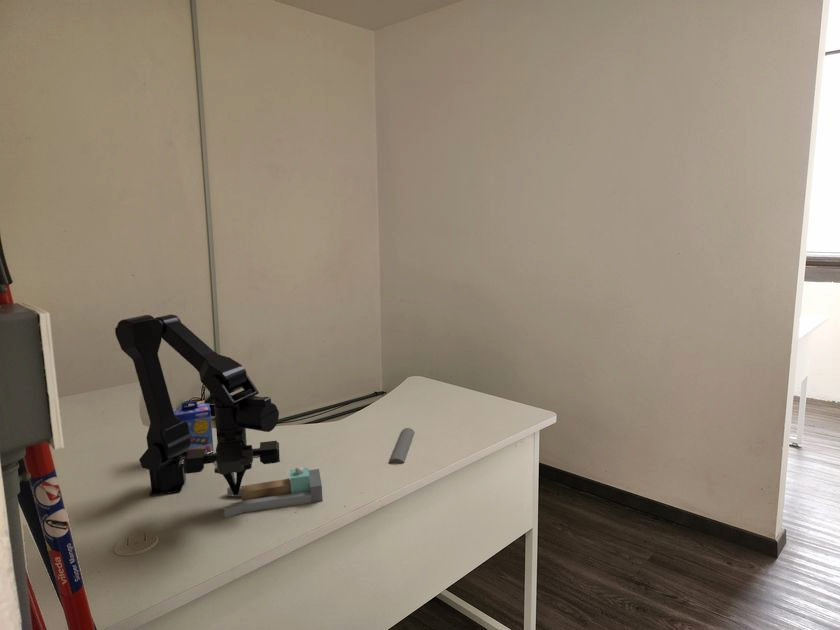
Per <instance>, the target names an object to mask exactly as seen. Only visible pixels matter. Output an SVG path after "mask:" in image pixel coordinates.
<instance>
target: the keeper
mask: <svg viewBox="0 0 840 630" xmlns="http://www.w3.org/2000/svg"><path fill="white" fill-rule="evenodd" d="M309 470H310V469H309V467H303V466H298V467H296V468H293V469H289V476H290V477H289V478H290V483H291V494H293V493H300V492H307V491H310V479H309Z"/></svg>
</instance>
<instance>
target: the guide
mask: <svg viewBox="0 0 840 630" xmlns="http://www.w3.org/2000/svg"><path fill="white" fill-rule="evenodd" d="M309 479H310V491H307V492H300V493H293V494H286V495H279V496H272V497H265V498H258V499H251V500H244V501H242V500H241V501H238V502H236V503H233V504H229V505H225V506H224V507H223V513H224V517H225V519H227V518H230V517H233V516H236V515H239V514H242V513H248V512H254V511H261V510H269V509H275V508H282V507H288V506H295V505H303V504H308V503H315V502H316V501H317V502H322V501H323V485H322V484H323V483H322V479H321V472H320V468H315V469H309ZM290 484H291V483H290ZM242 486H243V485H240V489H239V493H238V495H234V494H233V492H232V490H231V488H230V486H229V485H228V487H227V496H228V495H233V496H232V497H242Z"/></svg>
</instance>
